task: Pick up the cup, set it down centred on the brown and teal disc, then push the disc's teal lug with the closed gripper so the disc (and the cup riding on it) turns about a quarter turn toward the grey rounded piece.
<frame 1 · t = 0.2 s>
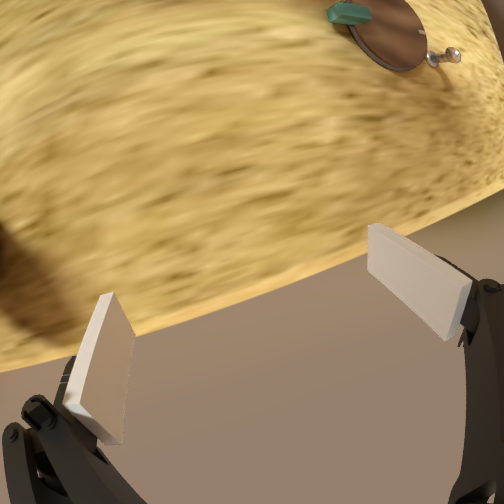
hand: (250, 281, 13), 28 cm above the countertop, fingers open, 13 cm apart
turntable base: (386, 27, 32), on the countertop
brown and teal disc: (387, 21, 29), point 3 cm above the countertop, hinge at 0.0°
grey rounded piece: (430, 59, 35), on the countertop
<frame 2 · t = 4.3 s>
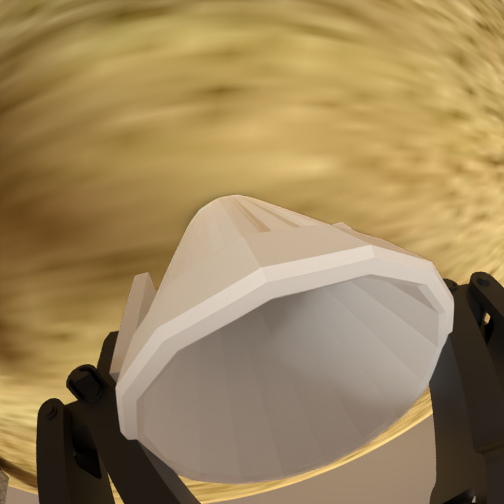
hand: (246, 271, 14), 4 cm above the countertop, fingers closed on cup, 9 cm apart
cup: (233, 240, 18), on the countertop, touching gripper
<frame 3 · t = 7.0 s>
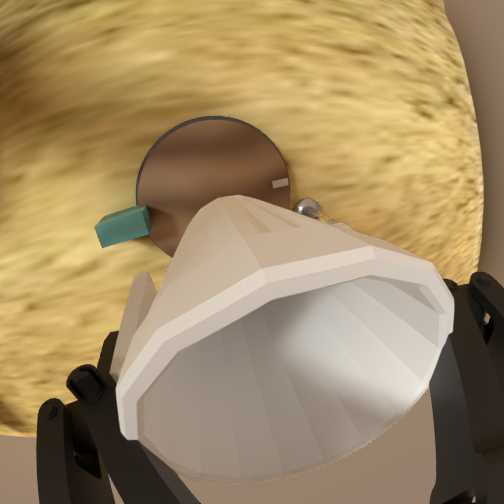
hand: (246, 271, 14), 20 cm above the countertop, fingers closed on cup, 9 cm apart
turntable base: (213, 193, 32), on the countertop
brown and teal disc: (195, 204, 29), point 3 cm above the countertop, hinge at 0.0°
cup: (233, 240, 18), point 15 cm above the countertop, touching gripper
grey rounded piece: (306, 212, 35), on the countertop
when the fingers open (7 cm above the countertop, at t = 9.8 s): cup stays where it is, resting on brown and teal disc.
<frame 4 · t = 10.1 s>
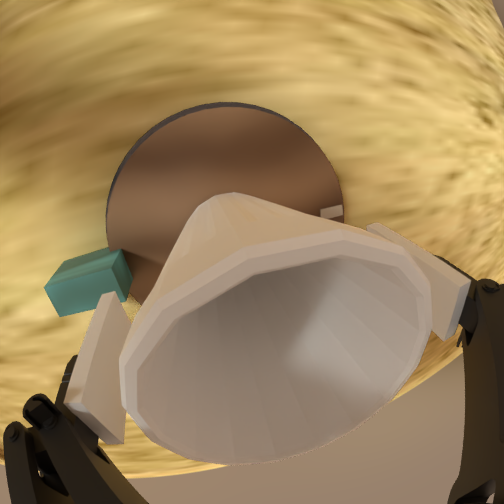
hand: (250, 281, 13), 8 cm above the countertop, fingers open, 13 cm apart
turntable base: (226, 225, 21), on the countertop
brown and teal disc: (199, 249, 18), point 3 cm above the countertop, hinge at 0.0°, touching cup
cup: (230, 235, 19), point 2 cm above the countertop, touching brown and teal disc
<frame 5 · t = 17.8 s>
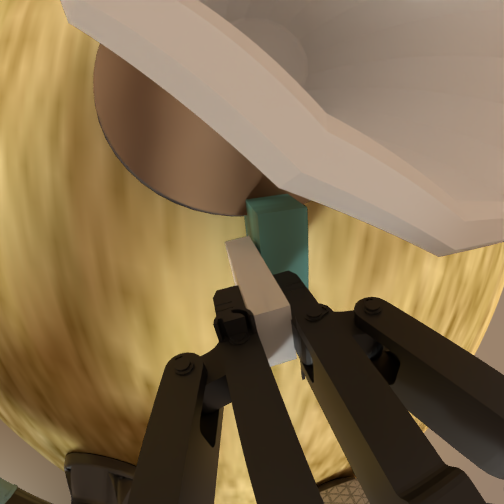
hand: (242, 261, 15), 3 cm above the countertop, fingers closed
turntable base: (245, 72, 14), on the countertop
planter: (329, 483, 52), on the countertop
brown and teal disc: (261, 100, 12), point 3 cm above the countertop, hinge at 4.8°, touching cup, gripper
cup: (253, 65, 12), point 2 cm above the countertop, touching brown and teal disc
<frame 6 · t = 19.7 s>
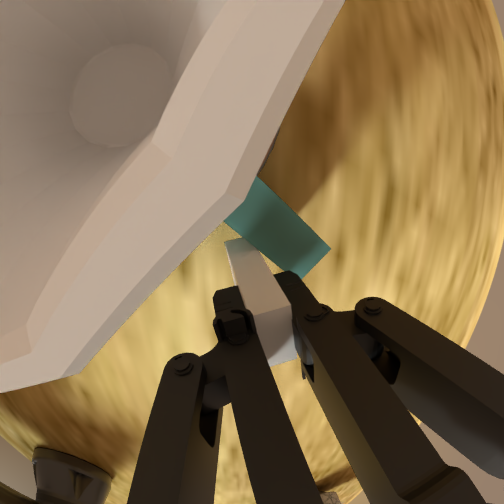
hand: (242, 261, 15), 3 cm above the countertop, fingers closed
planter: (298, 495, 51), on the countertop
brown and teal disc: (148, 118, 11), point 3 cm above the countertop, hinge at 46.4°, touching cup, gripper
cup: (121, 95, 11), point 2 cm above the countertop, touching brown and teal disc
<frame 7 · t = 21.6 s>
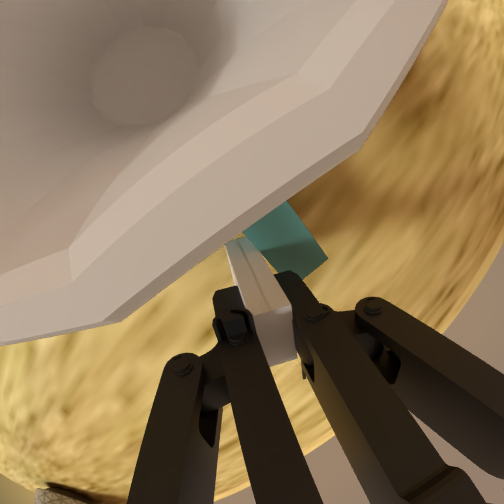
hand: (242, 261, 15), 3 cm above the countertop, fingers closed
planter: (70, 493, 36), on the countertop
brown and teal disc: (167, 103, 11), point 3 cm above the countertop, hinge at 80.6°, touching cup, gripper
cup: (144, 77, 11), point 2 cm above the countertop, touching brown and teal disc
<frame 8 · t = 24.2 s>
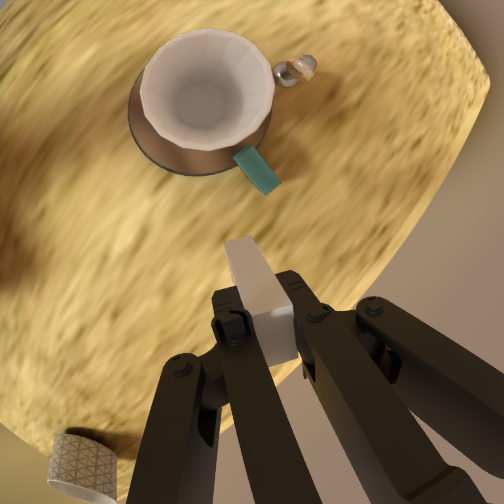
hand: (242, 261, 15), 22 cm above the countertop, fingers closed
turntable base: (199, 106, 31), on the countertop
planter: (86, 441, 53), on the countertop
brown and teal disc: (212, 117, 29), point 3 cm above the countertop, hinge at 80.7°, touching cup
cup: (200, 105, 29), point 2 cm above the countertop, touching brown and teal disc
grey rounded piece: (285, 74, 31), on the countertop
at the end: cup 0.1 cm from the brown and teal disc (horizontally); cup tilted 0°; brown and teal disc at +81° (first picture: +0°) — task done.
